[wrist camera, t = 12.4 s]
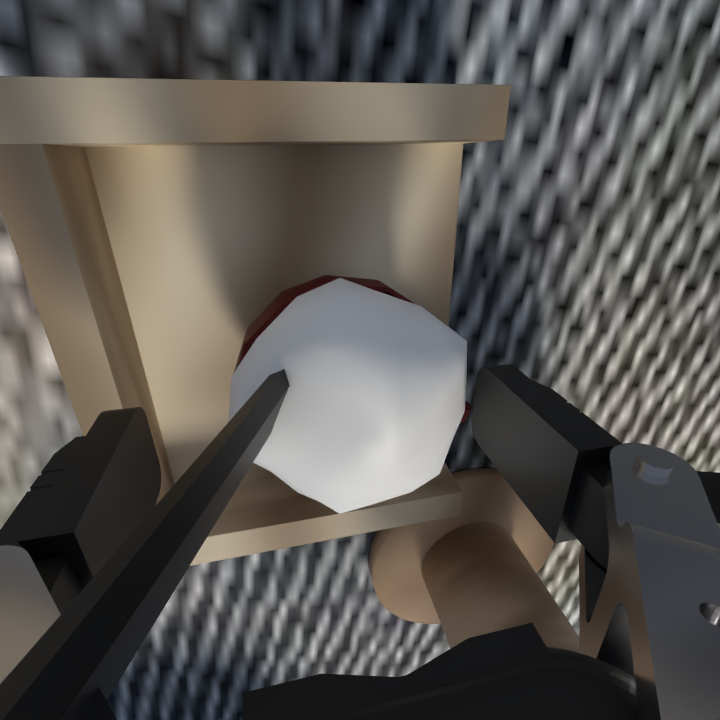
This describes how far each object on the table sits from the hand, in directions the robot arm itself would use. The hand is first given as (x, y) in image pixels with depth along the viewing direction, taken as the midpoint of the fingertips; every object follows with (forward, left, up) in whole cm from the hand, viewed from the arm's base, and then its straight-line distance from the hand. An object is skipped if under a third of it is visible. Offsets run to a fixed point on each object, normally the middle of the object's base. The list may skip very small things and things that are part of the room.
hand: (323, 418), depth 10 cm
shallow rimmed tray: (+1, 0, -6) cm, 6 cm away
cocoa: (-1, 0, -5) cm, 5 cm away
